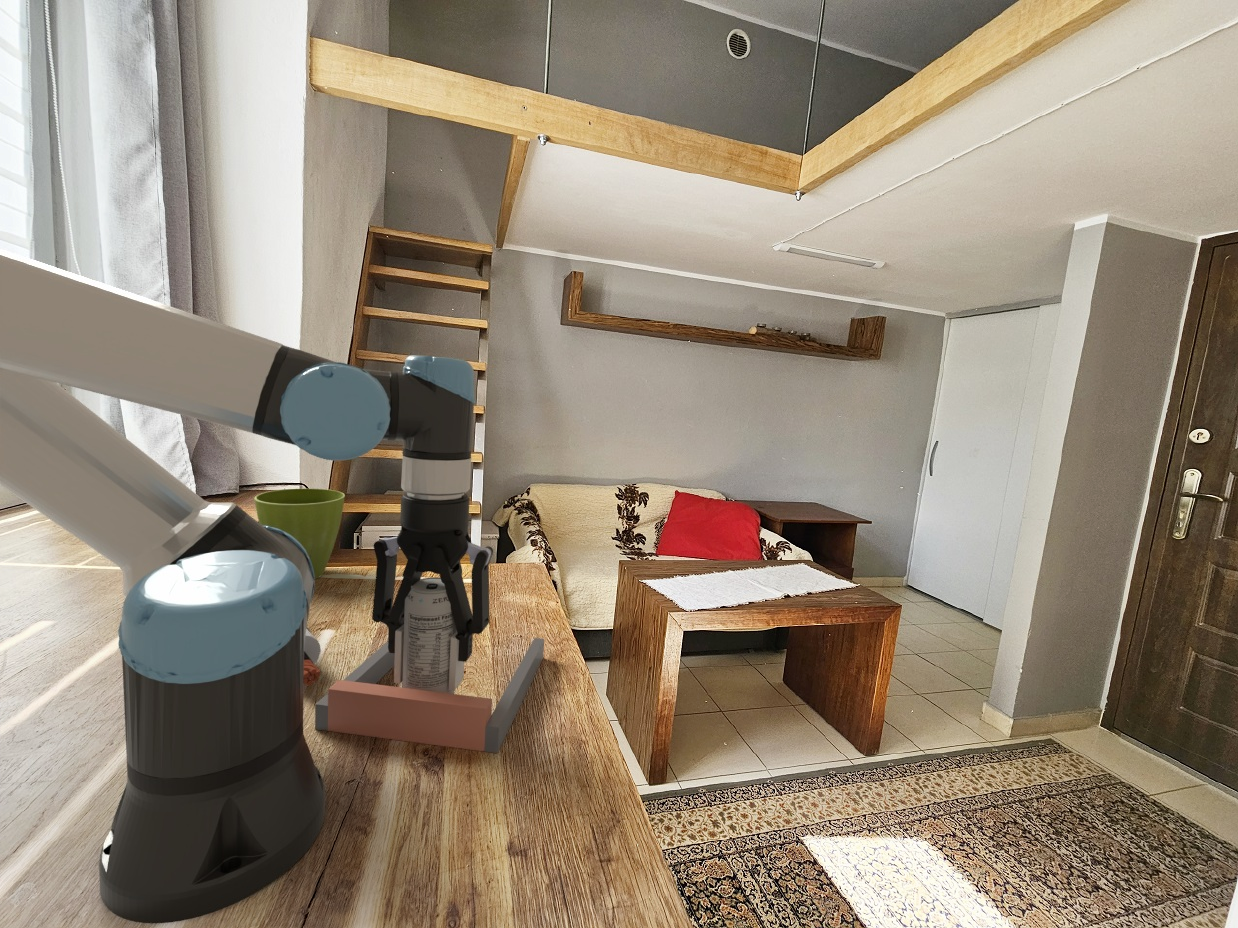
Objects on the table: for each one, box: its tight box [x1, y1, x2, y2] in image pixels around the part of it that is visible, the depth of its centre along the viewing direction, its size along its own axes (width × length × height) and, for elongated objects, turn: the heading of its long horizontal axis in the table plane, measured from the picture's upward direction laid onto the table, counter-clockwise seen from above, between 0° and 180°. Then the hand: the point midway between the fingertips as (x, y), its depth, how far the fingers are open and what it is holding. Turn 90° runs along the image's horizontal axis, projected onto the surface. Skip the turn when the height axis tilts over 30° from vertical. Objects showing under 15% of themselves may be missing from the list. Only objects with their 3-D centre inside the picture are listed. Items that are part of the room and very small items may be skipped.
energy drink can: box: [401, 576, 457, 694], centre depth 65 cm, size 6×6×15 cm
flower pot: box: [254, 488, 346, 580], centre depth 105 cm, size 15×15×16 cm
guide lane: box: [314, 637, 545, 754], centre depth 71 cm, size 22×21×5 cm
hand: (429, 680), depth 65 cm, fingers closed on energy drink can, 6 cm apart
